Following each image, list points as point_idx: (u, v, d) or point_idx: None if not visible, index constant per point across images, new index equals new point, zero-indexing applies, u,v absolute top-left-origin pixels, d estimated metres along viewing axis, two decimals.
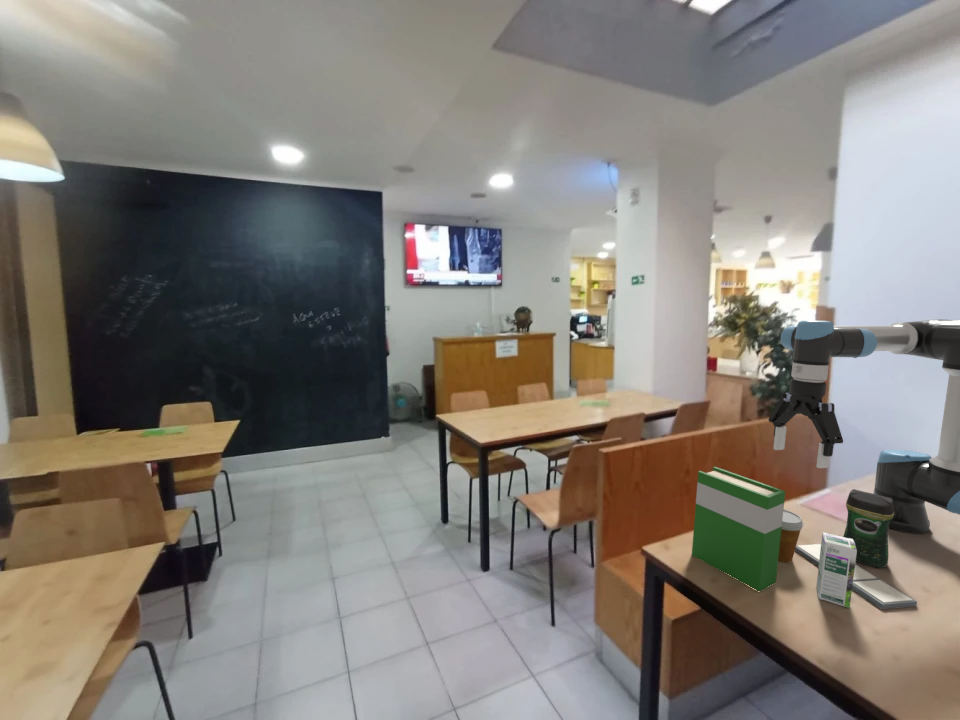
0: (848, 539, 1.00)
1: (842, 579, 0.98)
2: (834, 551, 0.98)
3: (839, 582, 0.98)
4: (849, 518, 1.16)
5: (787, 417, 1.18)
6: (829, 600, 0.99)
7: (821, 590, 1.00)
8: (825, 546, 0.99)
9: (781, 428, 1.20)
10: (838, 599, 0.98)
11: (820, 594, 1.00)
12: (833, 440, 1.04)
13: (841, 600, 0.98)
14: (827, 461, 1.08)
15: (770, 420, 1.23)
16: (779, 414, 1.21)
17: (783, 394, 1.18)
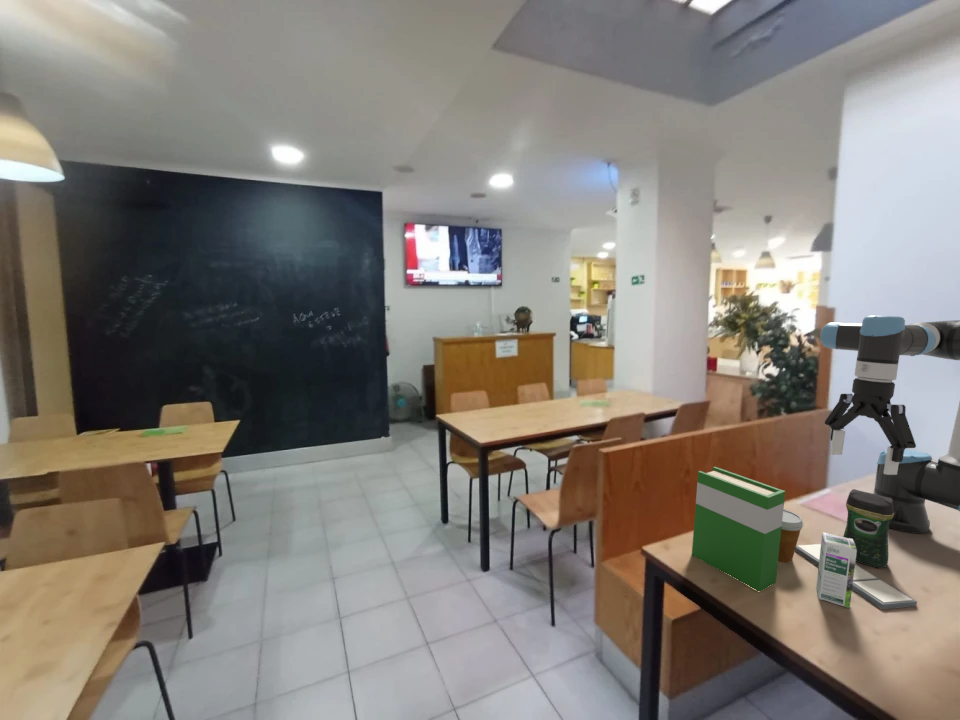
0: (848, 539, 1.00)
1: (842, 579, 0.98)
2: (834, 551, 0.98)
3: (839, 582, 0.98)
4: (849, 518, 1.16)
5: (847, 420, 1.10)
6: (829, 600, 0.99)
7: (821, 590, 1.00)
8: (825, 546, 0.99)
9: (839, 431, 1.12)
10: (838, 599, 0.98)
11: (820, 594, 1.00)
12: (905, 444, 0.96)
13: (841, 600, 0.98)
14: (896, 467, 1.00)
15: (827, 423, 1.15)
16: (837, 416, 1.13)
17: (843, 395, 1.11)
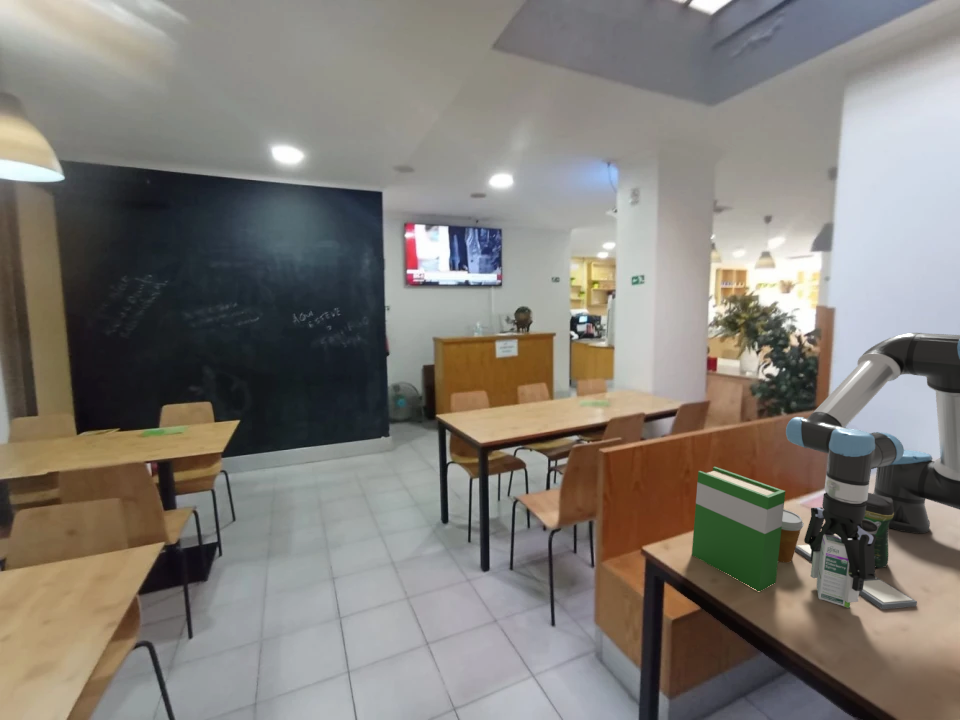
0: (848, 539, 1.00)
1: (842, 579, 0.98)
2: (834, 551, 0.98)
3: (839, 582, 0.98)
4: None
5: None
6: (829, 600, 0.99)
7: (821, 590, 1.00)
8: (825, 546, 0.99)
9: None
10: (838, 599, 0.98)
11: (820, 594, 1.00)
12: (864, 577, 0.93)
13: (841, 600, 0.98)
14: (856, 594, 0.96)
15: (806, 541, 1.07)
16: (815, 534, 1.06)
17: (813, 509, 1.05)
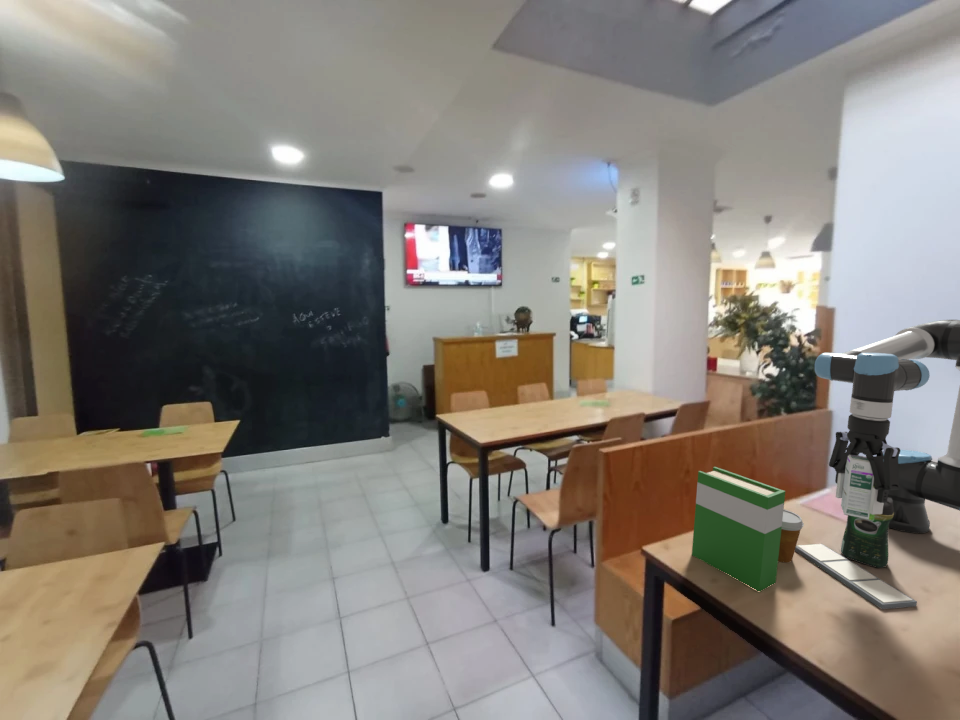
0: None
1: (867, 494, 1.04)
2: (859, 467, 1.04)
3: (863, 497, 1.04)
4: (849, 518, 1.16)
5: None
6: (854, 515, 1.06)
7: (846, 506, 1.06)
8: (850, 464, 1.05)
9: None
10: (863, 513, 1.05)
11: (845, 510, 1.06)
12: (889, 487, 0.99)
13: (866, 514, 1.04)
14: (881, 507, 1.03)
15: (831, 465, 1.13)
16: (839, 457, 1.12)
17: (838, 433, 1.11)
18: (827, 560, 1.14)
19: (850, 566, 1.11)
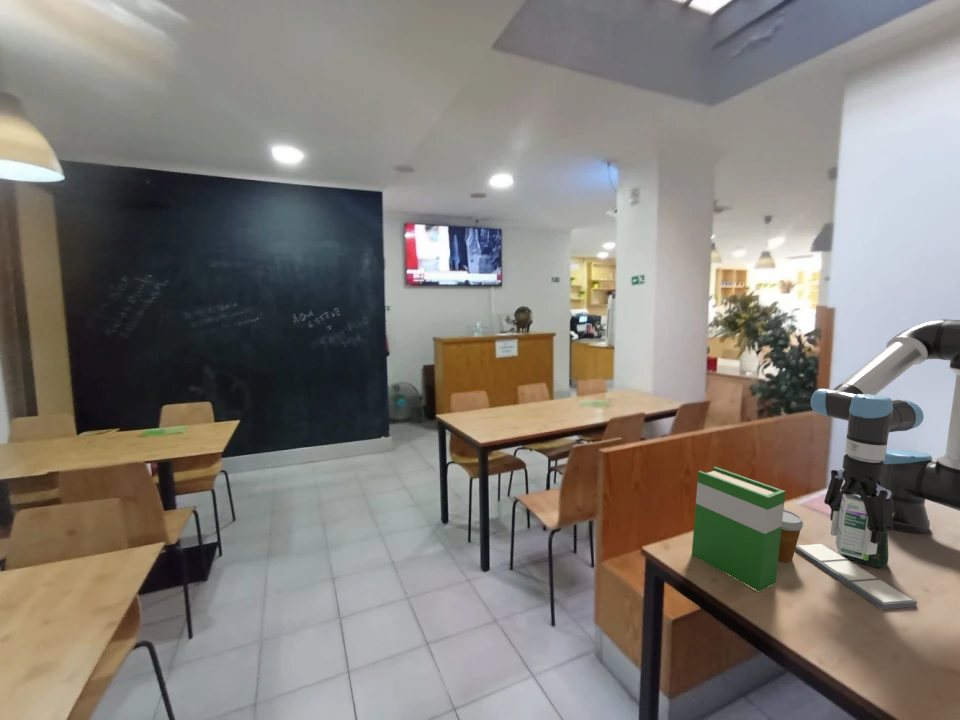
0: None
1: (861, 534, 1.05)
2: (854, 507, 1.06)
3: (858, 537, 1.06)
4: None
5: None
6: (848, 554, 1.07)
7: (841, 545, 1.08)
8: (845, 503, 1.07)
9: None
10: (857, 552, 1.06)
11: (840, 548, 1.08)
12: (883, 529, 1.00)
13: (860, 553, 1.06)
14: (875, 547, 1.04)
15: (826, 502, 1.14)
16: (835, 494, 1.13)
17: (833, 471, 1.12)
18: (827, 560, 1.14)
19: (850, 566, 1.11)
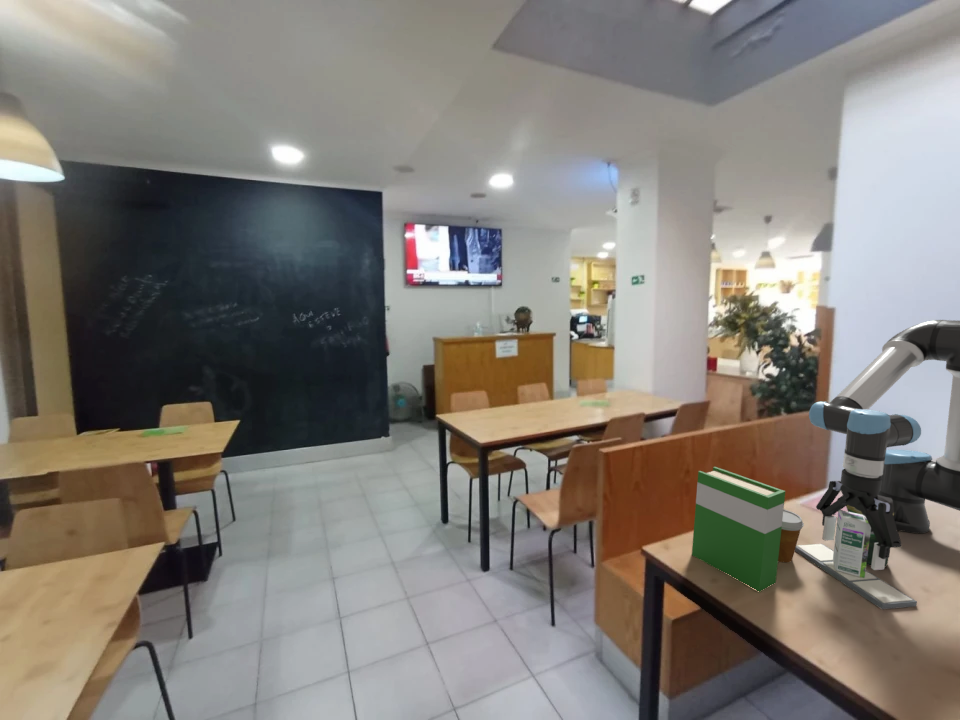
0: (863, 515, 1.09)
1: (858, 552, 1.06)
2: (850, 525, 1.07)
3: (854, 555, 1.07)
4: None
5: (838, 508, 1.12)
6: (845, 571, 1.08)
7: (838, 562, 1.09)
8: (842, 521, 1.08)
9: (831, 518, 1.14)
10: (854, 570, 1.07)
11: (837, 566, 1.09)
12: (891, 544, 0.99)
13: (857, 571, 1.07)
14: (883, 562, 1.02)
15: (818, 508, 1.17)
16: (828, 502, 1.15)
17: (832, 483, 1.13)
18: (827, 560, 1.14)
19: None
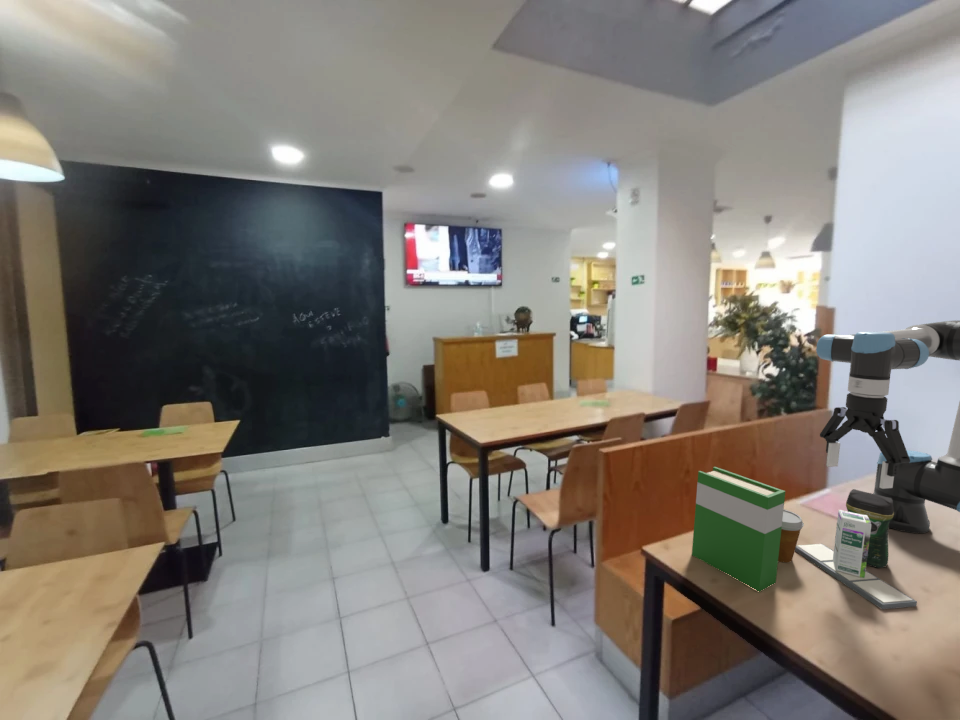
0: (863, 515, 1.09)
1: (858, 552, 1.06)
2: (850, 525, 1.07)
3: (854, 555, 1.07)
4: None
5: (842, 433, 1.12)
6: (845, 571, 1.08)
7: (838, 562, 1.09)
8: (842, 521, 1.08)
9: (835, 444, 1.14)
10: (854, 570, 1.07)
11: (837, 566, 1.09)
12: (900, 460, 0.98)
13: (857, 571, 1.07)
14: (891, 481, 1.02)
15: (822, 435, 1.17)
16: (832, 429, 1.15)
17: (837, 409, 1.12)
18: (827, 560, 1.14)
19: None
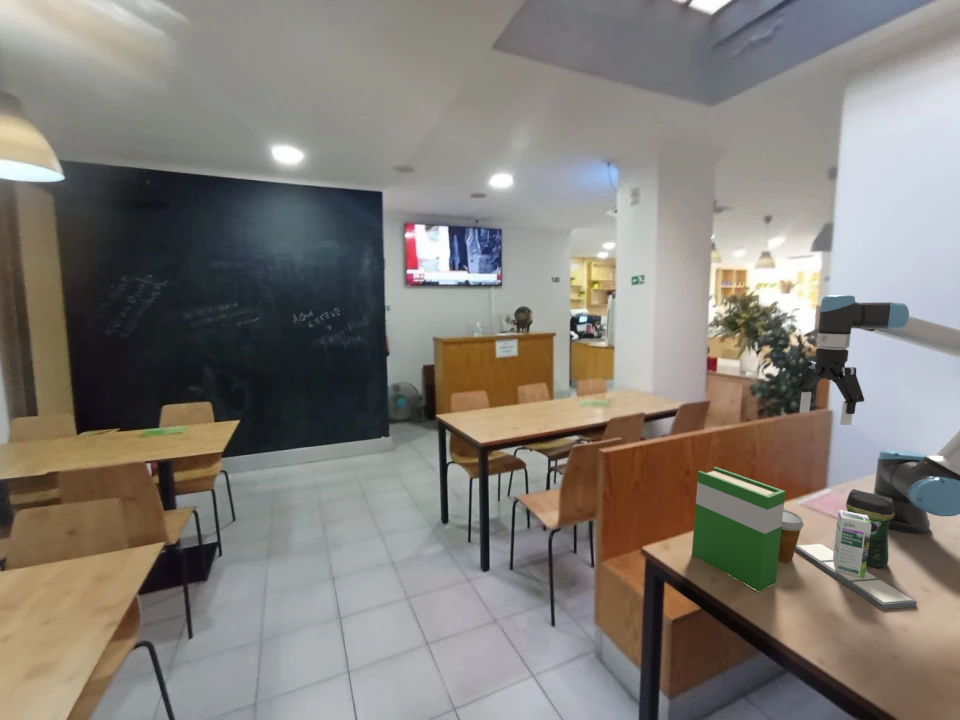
0: (863, 515, 1.09)
1: (858, 552, 1.06)
2: (850, 525, 1.07)
3: (854, 555, 1.07)
4: None
5: (812, 383, 1.33)
6: (845, 571, 1.08)
7: (838, 562, 1.09)
8: (842, 521, 1.08)
9: (806, 393, 1.35)
10: (854, 570, 1.07)
11: (837, 566, 1.09)
12: (855, 399, 1.18)
13: (857, 571, 1.07)
14: (850, 418, 1.22)
15: (796, 387, 1.37)
16: (804, 381, 1.36)
17: (808, 362, 1.33)
18: (827, 560, 1.14)
19: None
